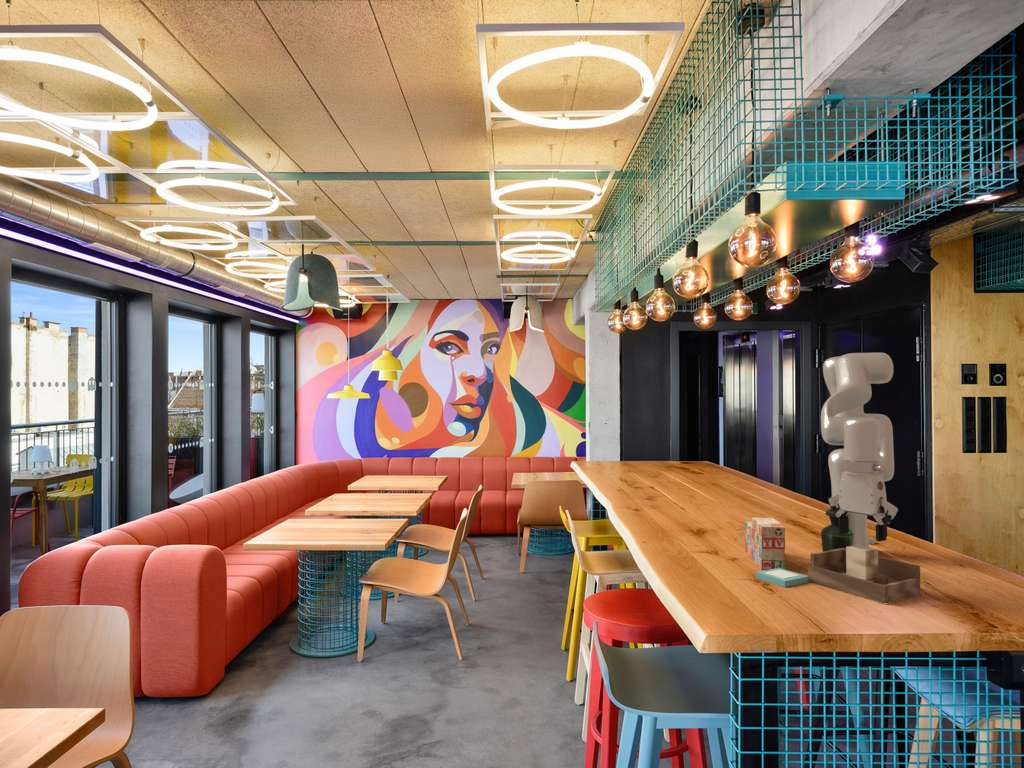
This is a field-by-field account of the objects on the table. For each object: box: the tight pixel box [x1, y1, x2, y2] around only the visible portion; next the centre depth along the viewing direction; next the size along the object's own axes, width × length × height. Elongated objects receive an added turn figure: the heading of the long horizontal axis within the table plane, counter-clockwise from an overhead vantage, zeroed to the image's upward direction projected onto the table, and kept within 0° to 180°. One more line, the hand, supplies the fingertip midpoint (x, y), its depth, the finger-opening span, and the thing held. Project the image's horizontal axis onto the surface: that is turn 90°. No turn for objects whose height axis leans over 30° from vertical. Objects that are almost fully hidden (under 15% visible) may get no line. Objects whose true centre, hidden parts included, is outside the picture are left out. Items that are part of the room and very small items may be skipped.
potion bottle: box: [820, 502, 853, 552], centre depth 175 cm, size 8×8×18 cm
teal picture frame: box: [755, 568, 810, 588], centre depth 163 cm, size 9×9×2 cm
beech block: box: [846, 545, 879, 580], centre depth 157 cm, size 5×5×7 cm
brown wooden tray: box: [807, 548, 921, 604], centre depth 156 cm, size 14×20×7 cm
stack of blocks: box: [744, 517, 786, 571], centre depth 183 cm, size 21×6×12 cm, turn 171°
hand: (861, 536), depth 156 cm, fingers open, 9 cm apart
